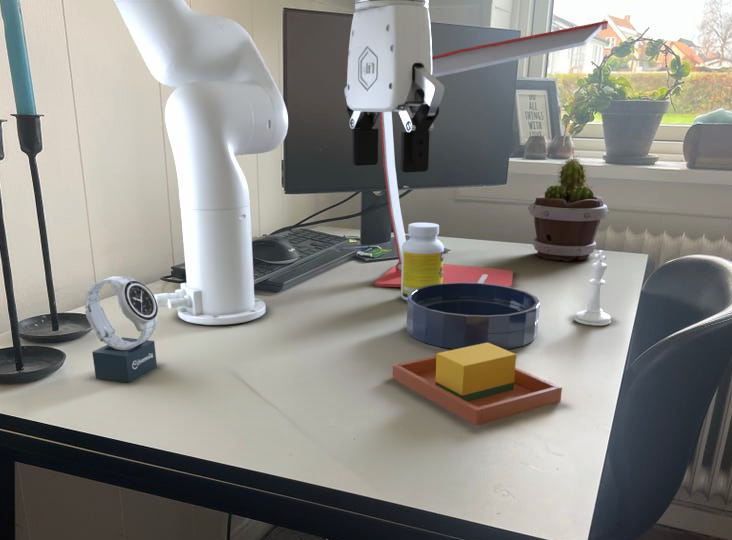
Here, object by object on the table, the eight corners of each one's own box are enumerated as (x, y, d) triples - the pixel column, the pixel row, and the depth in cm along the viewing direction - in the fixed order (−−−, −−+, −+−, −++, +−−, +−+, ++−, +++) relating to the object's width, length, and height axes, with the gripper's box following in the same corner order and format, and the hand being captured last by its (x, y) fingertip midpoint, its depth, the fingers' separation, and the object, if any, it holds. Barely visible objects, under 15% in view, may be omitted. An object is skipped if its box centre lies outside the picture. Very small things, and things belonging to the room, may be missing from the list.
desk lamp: (575, 303, 109) (608, 17, 95) (339, 284, 120) (338, 25, 106) (578, 278, 125) (606, 29, 111) (369, 263, 136) (372, 35, 122)
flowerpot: (597, 267, 133) (611, 156, 126) (516, 259, 139) (525, 154, 132) (607, 253, 145) (620, 152, 139) (532, 247, 152) (541, 149, 145)
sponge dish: (475, 429, 67) (477, 410, 66) (391, 381, 78) (392, 364, 78) (560, 405, 72) (562, 387, 72) (470, 363, 84) (471, 348, 83)
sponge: (461, 403, 72) (464, 366, 70) (434, 388, 75) (436, 353, 74) (513, 389, 75) (516, 354, 74) (485, 376, 79) (487, 342, 77)
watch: (144, 385, 77) (133, 287, 74) (82, 376, 80) (69, 281, 76) (171, 367, 82) (163, 275, 79) (113, 360, 85) (102, 270, 81)
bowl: (461, 364, 84) (463, 324, 82) (382, 327, 97) (382, 292, 96) (563, 341, 92) (567, 304, 90) (477, 310, 105) (479, 277, 104)
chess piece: (592, 327, 97) (601, 255, 94) (567, 318, 101) (574, 249, 98) (618, 322, 99) (628, 252, 96) (592, 314, 104) (600, 246, 100)
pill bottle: (439, 305, 108) (443, 229, 104) (397, 303, 109) (399, 227, 105) (443, 294, 114) (446, 222, 110) (403, 292, 115) (405, 220, 111)
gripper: (319, 2, 77) (321, 164, 83) (410, -20, 63) (405, 176, 69) (376, 6, 81) (374, 161, 87) (475, -13, 67) (465, 173, 73)
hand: (388, 168), depth 78 cm, fingers open, 9 cm apart
